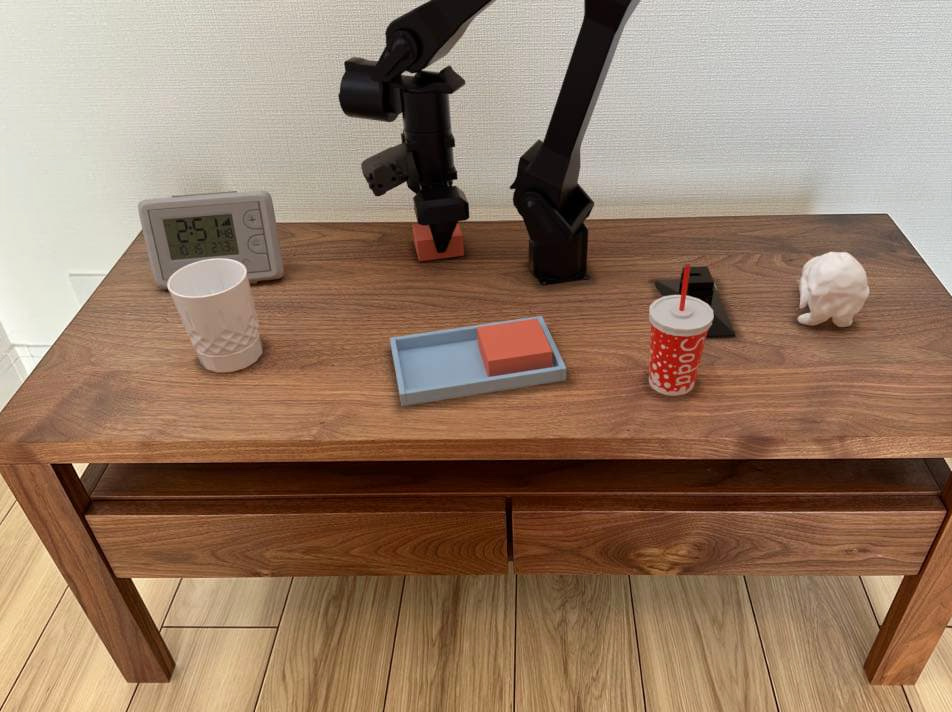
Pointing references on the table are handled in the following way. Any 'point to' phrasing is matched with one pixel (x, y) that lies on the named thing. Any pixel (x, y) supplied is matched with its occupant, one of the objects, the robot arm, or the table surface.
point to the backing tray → (458, 366)
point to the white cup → (218, 313)
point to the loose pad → (427, 245)
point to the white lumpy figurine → (832, 289)
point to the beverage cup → (677, 340)
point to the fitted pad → (514, 347)
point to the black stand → (701, 298)
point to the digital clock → (212, 233)
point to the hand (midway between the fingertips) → (438, 242)
